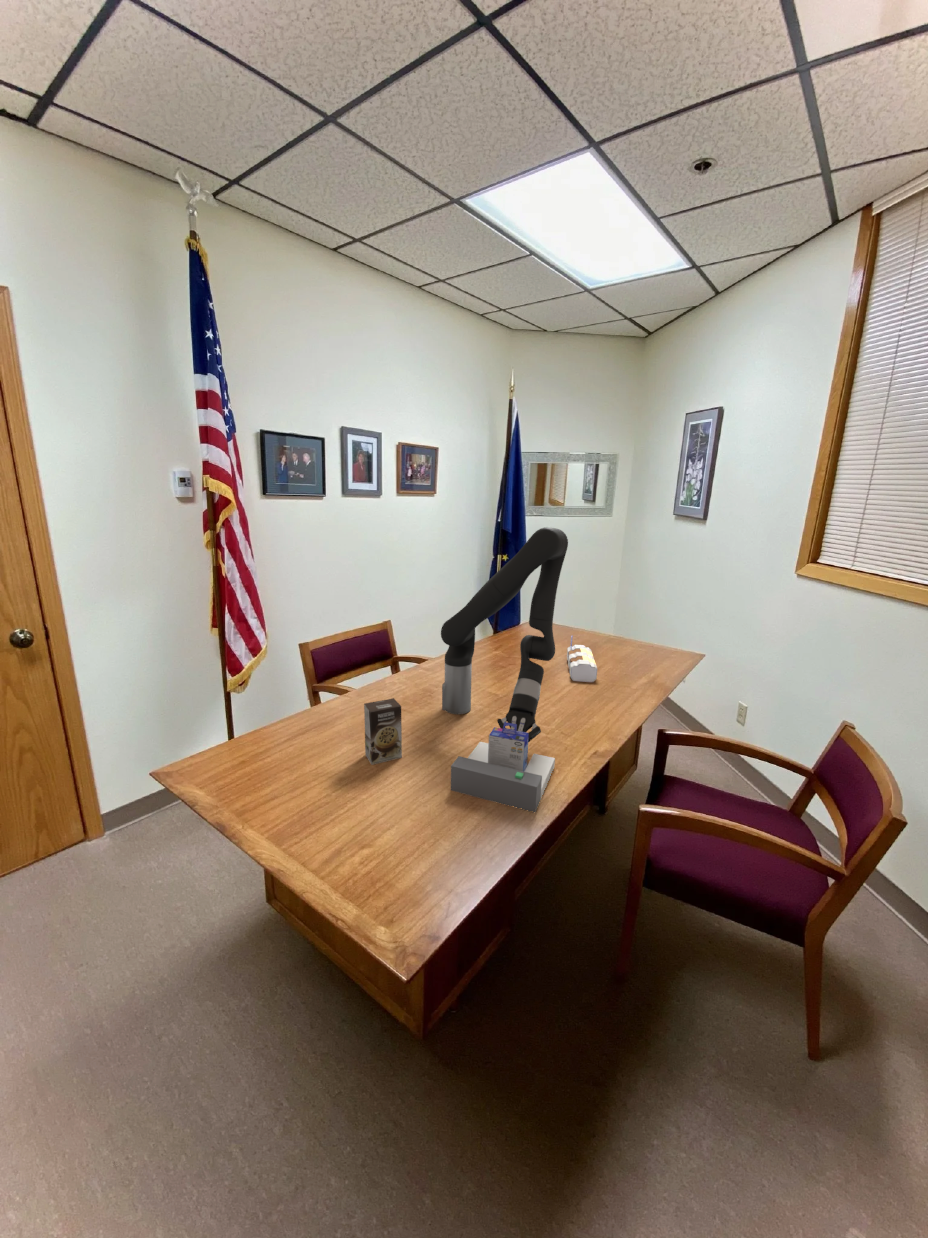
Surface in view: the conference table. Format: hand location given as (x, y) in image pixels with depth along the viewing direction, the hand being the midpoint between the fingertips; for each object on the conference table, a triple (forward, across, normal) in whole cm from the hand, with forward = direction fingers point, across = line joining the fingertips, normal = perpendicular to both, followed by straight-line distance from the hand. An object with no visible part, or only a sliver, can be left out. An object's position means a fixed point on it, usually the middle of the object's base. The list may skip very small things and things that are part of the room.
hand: (511, 756), depth 131 cm
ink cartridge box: (+5, 0, 0) cm, 5 cm away
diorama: (-56, +5, +63) cm, 85 cm away
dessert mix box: (+9, -35, -3) cm, 36 cm away
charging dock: (+6, 0, -1) cm, 6 cm away
